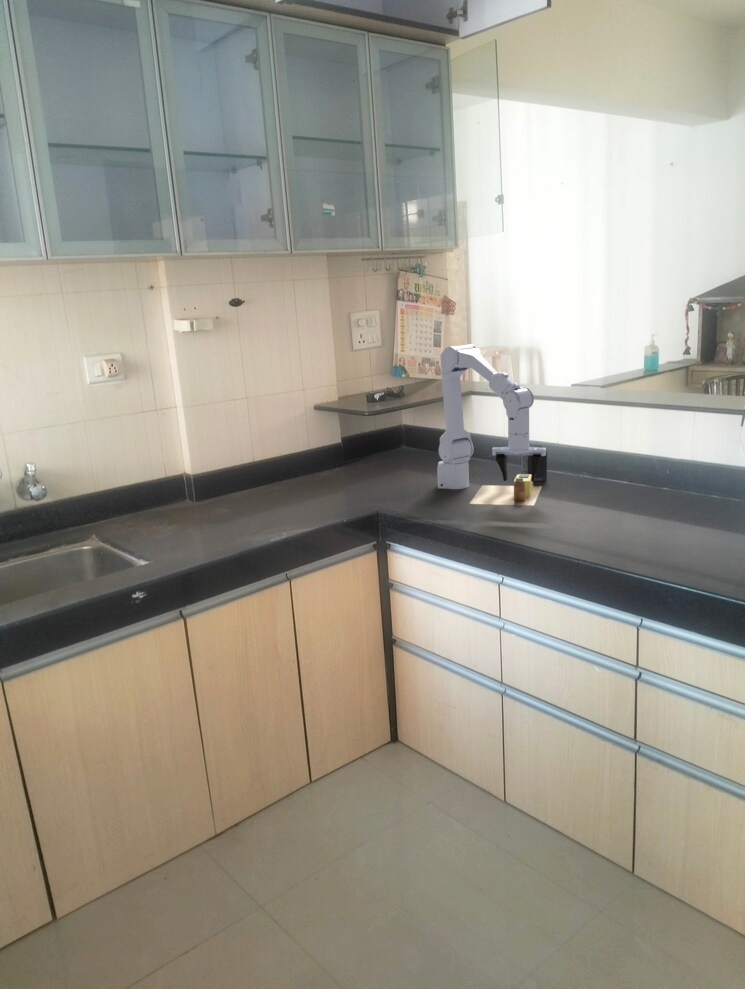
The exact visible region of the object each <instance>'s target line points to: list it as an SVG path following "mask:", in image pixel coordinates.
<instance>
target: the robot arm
mask: <svg viewBox="0 0 745 989" xmlns="http://www.w3.org/2000/svg"><path fill="white" fill-rule="evenodd" d="M440 366H441V371H440V372H441V383H442V384H441V386H442V396H443V398H442V399H443V409H444V418H445V419H444V420H445V431H444V433H443V434H441V436H440V437H439V446H438V455H439V457H440V459H441V460H440V461H438V463H437V470H436V472H437V489H445V490H447V489H448V490H462V489H467V488H469V487H470V479H469V478H470V476H469V475H470V474H469V472H470V470H469V469H470V468H469V467H470V466H469V461H470V460H471V457H472V456H473V454H474V450H475V449H474V443H473V441H472V437H471V433H470V432H469V431H468V430H466V429H465V424H464V413H463V411H464V410H463V398H462V387H461V376H463V374H464V373H465V372H466V371H467V370H468V369H472V370H474V371H475V372H476V373H477V374H478V375H480V376H481V377H482V378H484V379H485V380H486V381H487V382H488V387H489V389H490V390H491V391H493V392H494V393H495V394H496V395H497V396H498V397H499V398H500V399H501V400H502V403H503V406H504V409H505V411H506V413H505V414H506V417H507V431H508V432H507V433H508V434H507V436H508V437H507V440H508V444H507V445H508V446H499V447H492V448H491V451H492V452H491V455H492V456H495V461H496V463H497V464H498V467H499V470H500V471H501V474H502V475H501V476H502V478H503V482H507V480H508V467H507V462H508V459H507V458H508V456H522V455H533V456H532V457H531V464H532V474H531V482H533V483H534V482H535V481H534V480H535V474H536V470H537V467H538V464H539V462H540V459H541V457H542V456H545V455H546V451H547V448H546V447H543V448H538V447H529V445H530V408H531V407H532V406H533V404H534V402H535V401H534V400H535V399H534V394H533V392H532V390H531V389H530V387H527V386H526V387H522V386H520V384H519V383H516V382H515V381H514V380H513V379H512V378H510V377H509V374H508V373H507V372H503V371H499V372H498V371H497V370H496V369H495V368H494V367H493V366H492V365H491V363H489V362H488V361H487V360H486V359H485V357H484V356H482V352H481V349H479V348H478V347H477V345H475V344H473V343H468V344H464V345H454V346H446V347H445V348H444V349H443V351H442V352H441V353H440Z"/></svg>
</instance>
